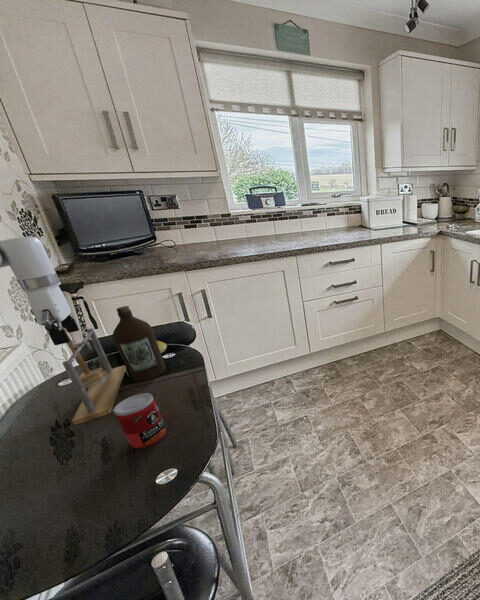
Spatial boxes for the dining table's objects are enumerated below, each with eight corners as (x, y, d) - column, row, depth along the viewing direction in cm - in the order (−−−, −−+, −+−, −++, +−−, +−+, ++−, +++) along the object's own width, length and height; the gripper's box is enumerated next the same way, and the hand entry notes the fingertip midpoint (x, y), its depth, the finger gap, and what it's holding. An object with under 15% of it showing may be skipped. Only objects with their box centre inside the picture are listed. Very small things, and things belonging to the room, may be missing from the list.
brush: (83, 389, 100) (49, 332, 92) (87, 382, 103) (55, 327, 96) (107, 381, 102) (76, 326, 95) (109, 375, 106) (80, 321, 98)
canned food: (149, 451, 79) (132, 414, 75) (122, 448, 80) (104, 412, 76) (174, 428, 86) (160, 393, 82) (149, 426, 87) (134, 392, 83)
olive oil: (132, 373, 115) (103, 307, 106) (167, 362, 120) (143, 299, 111) (130, 387, 106) (98, 317, 98) (168, 374, 112) (141, 307, 103)
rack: (74, 425, 90) (43, 370, 84) (98, 376, 115) (75, 330, 108) (110, 413, 94) (83, 359, 88) (126, 368, 118) (106, 323, 112)
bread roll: (138, 360, 123) (134, 351, 122) (146, 350, 131) (142, 341, 130) (164, 355, 126) (160, 346, 124) (169, 345, 134) (166, 336, 132)
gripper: (33, 279, 95) (60, 331, 101) (6, 293, 81) (39, 353, 87) (67, 273, 99) (91, 324, 105) (47, 286, 85) (76, 344, 91)
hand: (67, 337), depth 96 cm, fingers open, 9 cm apart
